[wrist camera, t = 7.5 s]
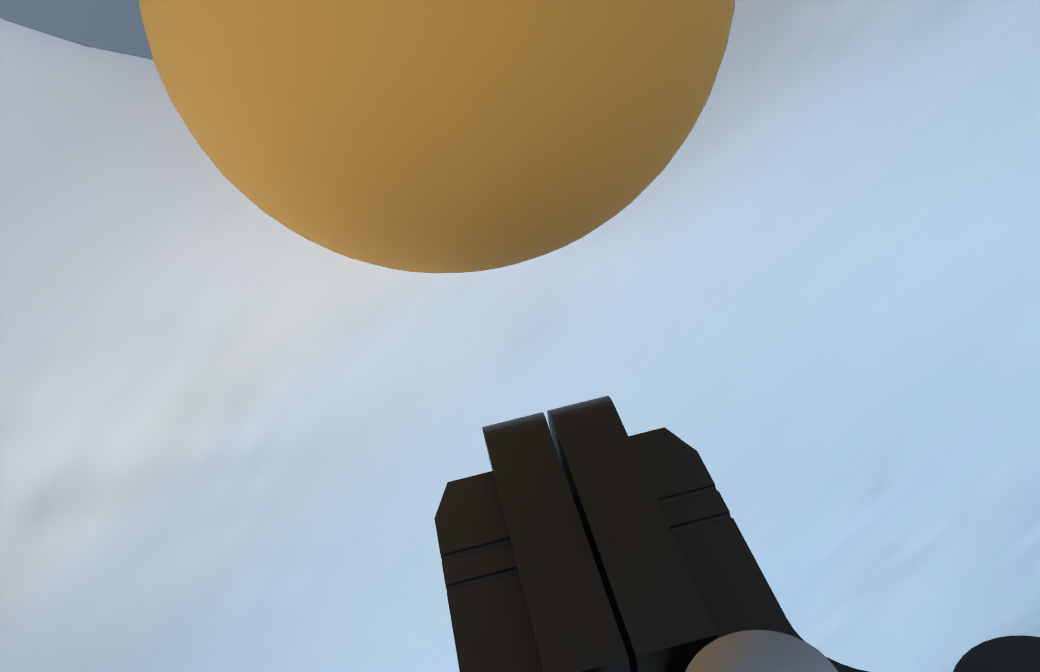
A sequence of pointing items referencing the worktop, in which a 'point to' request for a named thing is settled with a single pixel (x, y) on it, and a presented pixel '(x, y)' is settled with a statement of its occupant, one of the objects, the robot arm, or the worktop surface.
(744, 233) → the worktop surface
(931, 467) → the worktop surface
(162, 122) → the worktop surface
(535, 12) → the ball
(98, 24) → the disc
